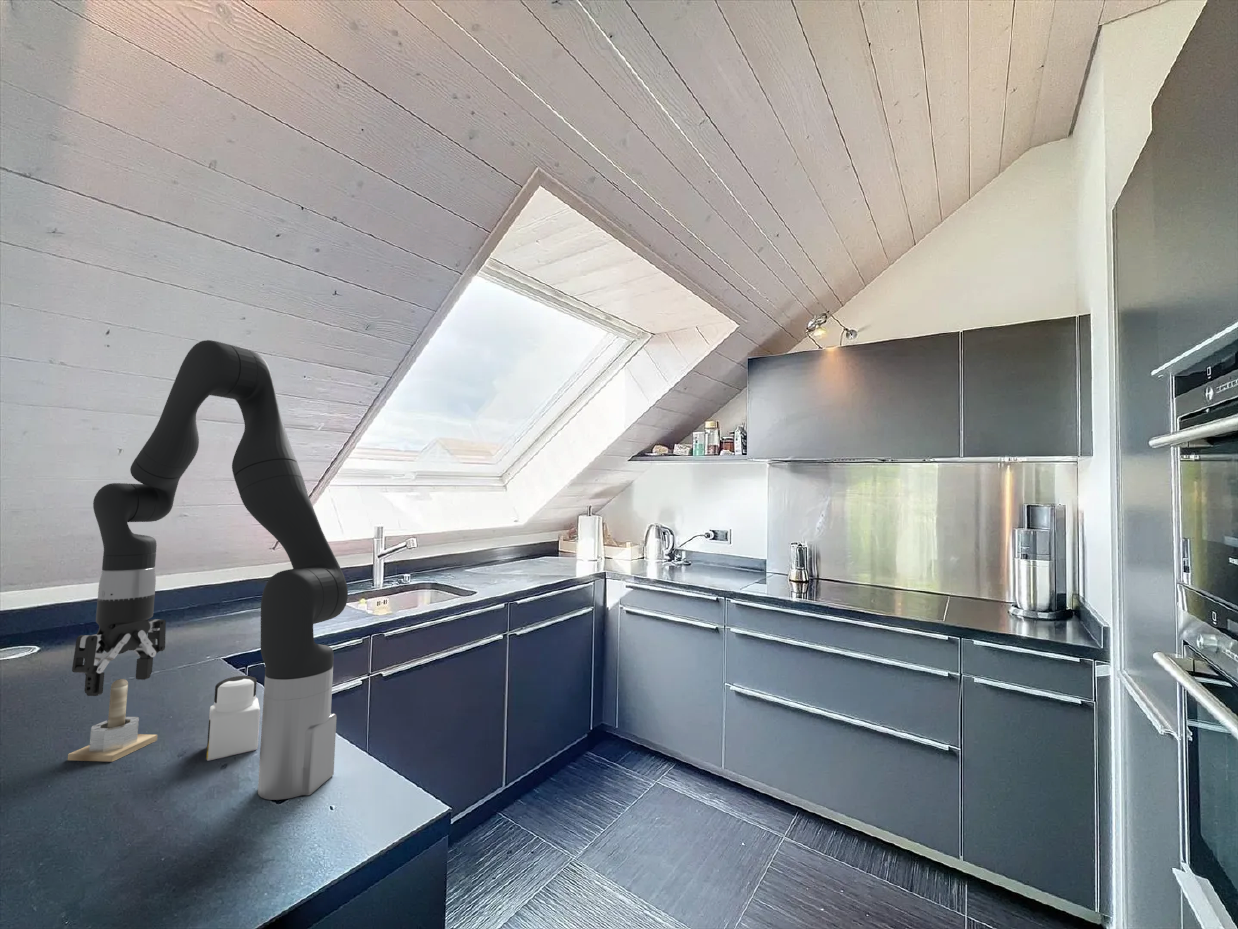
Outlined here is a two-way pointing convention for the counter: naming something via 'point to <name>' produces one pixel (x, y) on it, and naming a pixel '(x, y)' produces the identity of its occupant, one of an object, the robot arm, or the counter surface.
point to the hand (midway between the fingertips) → (119, 686)
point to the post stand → (114, 720)
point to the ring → (113, 735)
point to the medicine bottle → (233, 718)
